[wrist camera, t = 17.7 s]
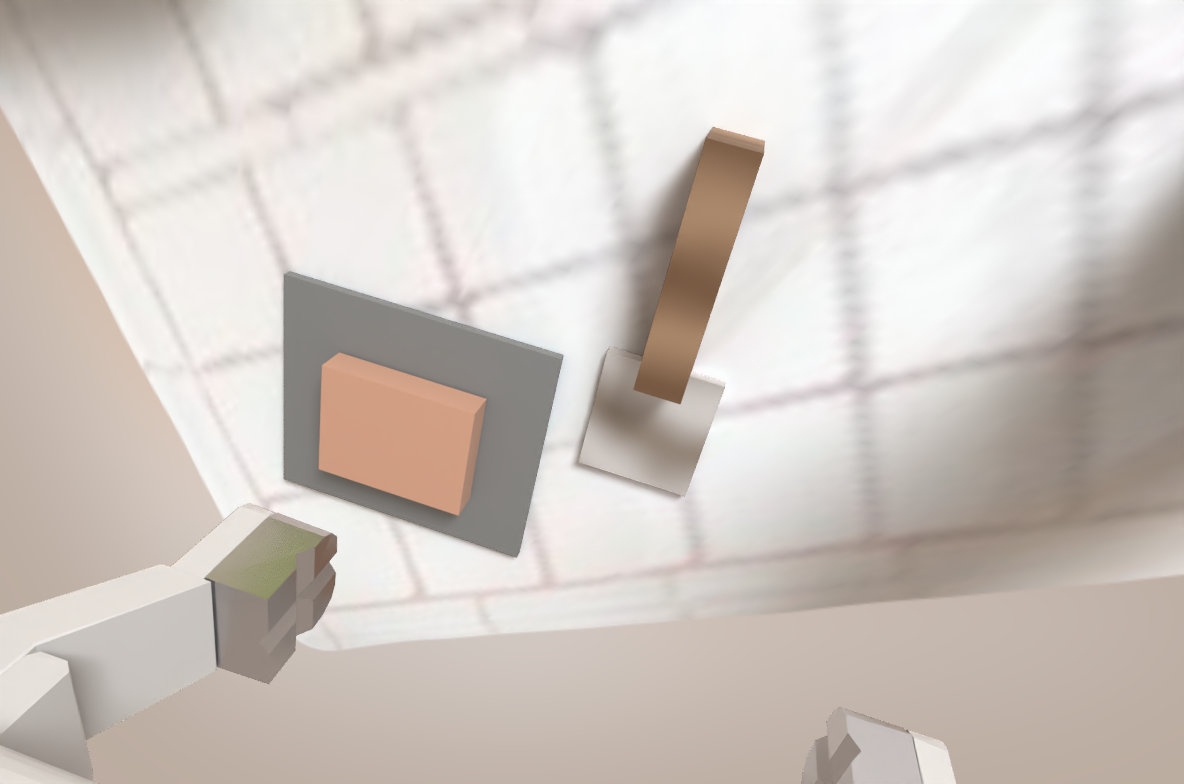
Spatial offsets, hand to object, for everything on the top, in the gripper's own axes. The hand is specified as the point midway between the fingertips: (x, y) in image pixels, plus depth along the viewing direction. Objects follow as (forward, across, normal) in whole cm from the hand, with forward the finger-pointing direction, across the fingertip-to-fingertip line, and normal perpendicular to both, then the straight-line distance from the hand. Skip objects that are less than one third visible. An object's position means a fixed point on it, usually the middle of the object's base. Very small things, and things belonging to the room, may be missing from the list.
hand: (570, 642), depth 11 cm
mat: (+29, +15, +18) cm, 37 cm away
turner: (+29, 0, +6) cm, 30 cm away
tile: (+27, +15, +14) cm, 34 cm away
